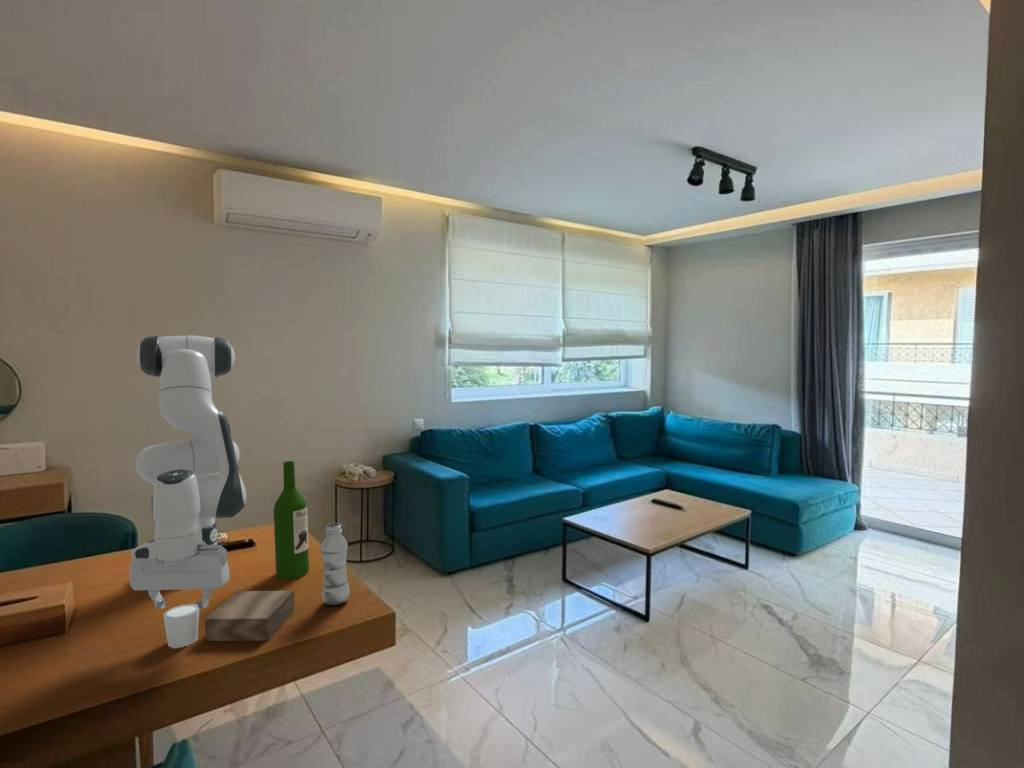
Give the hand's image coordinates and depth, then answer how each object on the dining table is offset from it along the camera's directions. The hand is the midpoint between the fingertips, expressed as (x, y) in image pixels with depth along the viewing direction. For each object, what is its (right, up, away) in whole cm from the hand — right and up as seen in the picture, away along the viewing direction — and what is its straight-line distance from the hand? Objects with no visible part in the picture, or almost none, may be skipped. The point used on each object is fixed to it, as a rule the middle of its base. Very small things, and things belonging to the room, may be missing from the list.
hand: (182, 607), depth 118 cm
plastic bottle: (+28, -7, +18) cm, 34 cm away
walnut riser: (+12, -7, +8) cm, 16 cm away
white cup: (0, -8, +1) cm, 8 cm away
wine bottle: (+9, -6, +38) cm, 39 cm away
